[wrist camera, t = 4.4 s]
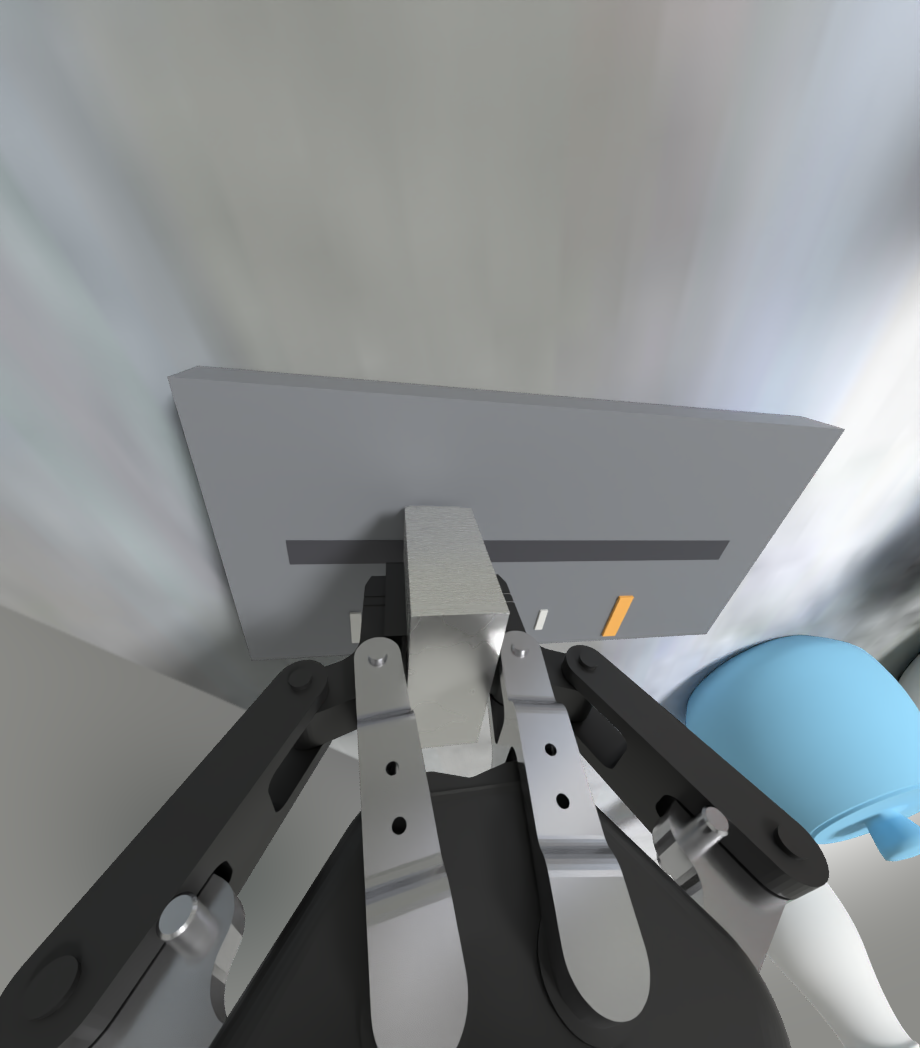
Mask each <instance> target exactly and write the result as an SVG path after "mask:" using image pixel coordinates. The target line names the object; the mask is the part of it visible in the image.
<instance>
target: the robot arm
mask: <svg viewBox="0 0 920 1048" xmlns="http://www.w3.org/2000/svg"><path fill="white" fill-rule="evenodd" d="M496 577H497V579H498V582H499V585H500V588H501V590H502V593H503V596H504V598H505V601H506V604H507V606H508V609H509V612H510V614H509V618H508V622H507V626H506V630H505V634H504V638H503V642H502V646H501V650H500V654H499V658H498V662H497V665H496V669H495V673H494V677H493V681H492V685H491V689H490V693H489V697H488V701H487V705H488V714H489V724H490V733H491V743H492V764H491V769H490V770H488V771H485V772H483V773H481V774H479V775H477V776H474V777H470V778H468V777H461V776H456V775H450V774H444V773H438V772H426V770H425V765H424V760H423V754H422V749H421V743H420V738H419V733H418V727H417V722H416V717H415V713H414V711H413V710H411V707H410V702H409V696H408V691H407V685H406V680H405V668H406V646H407V623H406V599H405V576H404V562H386V576H371V577H370V579H369V580H368V582H367V583H366V585H365V590H364V600H363V611H362V622H361V633H360V641H359V645H358V647H357V648H356V650H355V651H354V652H353V653H352V654H351V655H350V656H349V657H347V658H346V659H344V660H342V661H340V662H338V663H335V664H332V665H329V666H326V667H324V666H323V665H322V664H321V663H319V662H317V661H313V660H303V661H298V662H295V663H293V664H291V665H289V666H287V667H286V668H285V669H283V670H282V671H281V672H280V673H279V674H278V676H277V677H276V678H275V679H274V680H273V681H272V682H271V684H270V685H269V686H268V687H267V688H266V689H265V690H264V692H263V693H262V694H261V695H260V696H259V697H258V698H257V700H256V701H255V702H254V703H253V704H252V705H251V706H250V707H249V709H248V710H247V711H246V712H245V713H244V714H243V716H242V717H241V718H240V719H239V720H238V721H237V722H236V723H235V725H234V726H233V727H232V728H231V729H230V730H229V731H228V732H227V734H226V735H225V736H224V737H223V738H222V740H220V742H219V743H218V744H217V745H216V746H215V747H214V748H213V750H212V751H211V752H210V753H209V754H208V755H207V756H206V758H205V759H204V760H203V761H202V762H201V763H200V764H199V765H198V767H197V768H196V769H195V770H194V771H193V772H192V774H191V775H190V776H189V777H188V778H187V779H186V780H185V781H184V783H183V784H182V785H181V786H180V787H179V788H178V789H177V791H176V792H175V793H174V794H173V795H172V796H171V797H170V798H169V800H168V801H167V802H166V803H165V804H164V805H163V806H162V808H161V809H160V810H159V811H158V812H157V813H156V814H155V816H154V817H153V818H152V819H151V820H150V821H149V822H148V823H147V825H146V826H145V827H144V828H143V829H142V830H141V832H140V833H139V834H138V835H137V836H136V837H135V838H134V839H133V841H132V842H131V843H130V844H129V845H128V846H127V847H126V849H125V850H124V851H123V852H122V853H121V854H120V855H119V856H118V858H117V859H116V860H115V861H114V862H113V863H112V864H111V866H110V867H109V868H108V869H107V870H106V871H105V872H104V874H103V875H102V876H101V877H100V878H99V879H98V880H97V882H96V883H95V884H94V885H93V886H92V887H91V888H90V889H89V891H88V892H87V893H86V894H85V895H84V896H83V897H82V899H81V900H80V901H79V902H78V903H77V904H76V905H75V907H74V908H73V909H72V910H71V911H70V912H69V913H68V914H67V916H66V917H65V918H64V919H63V920H62V922H60V924H59V925H58V926H57V927H56V928H55V929H54V930H53V932H52V933H51V934H50V935H49V936H48V937H47V938H46V940H45V941H44V942H43V943H42V944H41V945H40V946H39V947H38V949H37V950H36V951H35V952H34V953H33V954H32V955H31V957H30V958H29V959H28V960H27V961H26V962H25V963H24V965H23V966H22V967H21V968H20V970H19V971H18V972H17V973H16V974H15V975H14V977H13V978H12V980H11V981H10V982H9V984H8V985H7V987H6V988H5V990H4V991H3V993H2V995H1V996H0V1048H791V1046H790V1042H789V1038H788V1035H787V1032H786V1029H785V1027H784V1024H783V1021H782V1018H781V1016H780V1013H779V1011H778V1009H777V1007H776V1004H775V1002H774V1000H773V998H772V996H771V994H770V992H769V990H768V988H767V986H766V984H765V982H764V981H763V979H762V977H761V976H760V974H759V973H760V970H761V967H762V964H763V962H764V959H765V957H766V954H767V952H768V949H769V946H770V944H771V941H772V939H773V936H774V933H775V931H776V928H777V926H778V923H779V920H780V918H781V915H782V912H783V910H784V907H785V905H786V904H787V903H789V902H791V901H793V900H795V899H797V898H799V897H801V896H803V895H805V894H807V893H809V892H811V891H813V890H815V889H817V888H819V887H821V886H823V885H825V884H826V882H827V881H828V878H829V870H828V865H827V862H826V859H825V857H824V855H823V853H822V851H821V849H820V848H819V846H818V844H817V843H816V842H815V840H814V839H813V838H812V836H811V835H810V834H809V833H808V832H807V831H806V830H805V829H804V828H803V827H802V826H801V825H800V824H799V823H798V822H797V821H796V820H794V819H793V818H792V817H791V816H790V815H789V814H787V813H786V812H785V811H784V810H783V809H782V808H780V807H779V806H778V805H777V804H776V803H775V802H773V801H772V800H771V799H770V798H769V797H768V796H766V795H765V794H764V793H763V792H762V791H761V790H759V789H758V788H757V787H756V786H755V785H754V784H752V783H751V782H750V781H749V780H748V779H747V778H745V777H744V776H743V775H742V774H741V773H739V772H738V771H737V770H736V769H735V768H734V767H732V766H731V765H730V764H729V763H728V762H727V761H725V760H724V759H723V758H722V757H721V756H720V755H718V754H717V753H716V752H715V751H714V750H713V749H711V748H710V747H709V746H708V745H707V744H706V743H704V742H703V741H702V740H701V739H700V738H699V737H697V736H696V735H695V734H694V733H693V732H692V731H690V730H689V729H688V728H687V727H686V726H685V725H683V724H682V723H681V722H680V721H679V720H678V719H676V718H675V717H674V716H673V715H672V714H671V713H669V712H668V711H667V710H666V709H665V708H664V707H662V706H661V705H660V704H659V703H658V702H657V701H655V700H654V699H653V698H652V697H651V696H650V695H648V694H647V693H646V692H645V691H644V690H643V689H641V688H640V687H639V686H638V685H637V684H635V683H634V682H633V681H632V680H631V679H630V678H628V677H627V676H626V675H625V674H624V673H623V672H621V671H620V670H619V669H618V668H617V667H616V666H614V665H613V664H612V663H611V662H610V661H609V660H607V659H606V658H605V657H604V656H603V655H602V654H600V653H599V652H598V651H596V650H595V649H593V648H591V647H588V646H584V645H576V646H573V647H571V648H570V649H569V650H568V651H567V653H561V652H557V651H553V650H548V649H545V648H543V647H541V646H540V645H539V643H538V642H537V641H536V639H535V638H533V637H532V636H531V635H529V634H527V633H526V631H525V628H524V626H523V623H522V621H521V618H520V616H519V613H518V611H517V608H516V606H515V603H514V602H513V598H512V595H510V590H509V588H508V585H507V583H506V582H505V581H504V580H503V579H502V578H501V577H500V576H499V575H498V574H496ZM356 729H357V734H358V754H359V774H360V795H361V811H360V813H359V814H358V815H357V816H356V817H355V819H354V820H353V821H352V823H351V824H350V825H349V827H348V828H347V830H346V832H345V833H344V835H343V836H342V838H341V839H340V841H339V843H338V844H337V846H336V848H335V849H334V851H333V852H332V854H331V855H330V857H329V859H328V860H327V862H326V863H325V865H324V866H323V868H322V869H321V871H320V873H319V874H318V876H317V877H316V879H315V880H314V882H313V884H312V885H311V887H310V888H309V890H308V891H307V893H306V895H305V896H304V898H303V899H302V901H301V903H300V904H299V906H298V907H297V909H296V910H295V912H294V913H293V915H292V917H291V918H290V920H289V921H288V923H287V924H286V926H285V928H284V929H283V931H282V932H281V934H280V935H279V937H278V939H277V940H276V942H275V943H274V945H273V947H272V948H271V950H270V951H269V953H268V954H267V956H266V958H265V959H264V961H263V962H262V964H261V965H260V967H259V969H258V970H257V972H256V973H255V975H254V976H253V978H252V980H251V981H250V983H249V984H248V986H247V987H246V989H245V991H244V992H243V994H242V996H241V997H240V998H239V1000H238V1002H237V1003H236V1005H235V1006H234V1008H233V1009H232V1011H231V1013H230V1014H229V1016H228V1017H227V1015H226V1011H225V1005H224V994H225V985H226V980H227V976H228V973H229V969H230V967H231V964H232V962H233V959H234V957H235V955H236V952H237V950H238V948H239V946H240V943H241V940H242V937H243V933H244V927H245V912H244V908H243V905H242V903H241V901H240V900H239V898H238V897H237V895H238V894H239V892H240V890H241V889H242V887H243V886H244V884H245V882H246V881H247V879H248V877H249V876H250V874H251V873H252V871H253V869H254V867H255V866H256V864H257V863H258V861H259V859H260V858H261V856H262V855H263V853H264V851H265V850H266V848H267V846H268V844H269V843H270V841H271V840H272V838H273V837H274V835H275V833H276V832H277V830H278V828H279V827H280V825H281V824H282V822H283V820H284V818H285V817H286V815H287V814H288V812H289V810H290V809H291V807H292V806H293V804H294V802H295V801H296V799H297V797H298V796H299V794H300V792H301V791H302V789H303V788H304V786H305V784H306V783H307V781H308V779H309V778H310V776H311V774H312V773H313V771H314V770H315V768H316V766H317V765H318V763H319V761H320V760H321V758H322V756H323V755H324V753H325V752H326V750H327V748H328V747H329V745H330V743H331V742H332V740H333V739H336V738H338V737H340V736H342V735H345V734H347V733H349V732H352V731H354V730H356ZM580 754H581V755H582V756H583V757H584V758H585V759H586V760H587V762H588V763H589V764H590V765H591V766H592V767H593V768H594V769H595V771H596V772H597V773H598V774H599V775H600V776H601V777H602V778H603V780H604V781H605V782H606V783H607V784H608V785H609V786H610V787H611V789H612V790H613V791H614V792H615V793H616V794H617V795H618V796H619V798H620V799H621V800H622V801H623V802H624V803H625V804H626V805H627V807H628V808H629V809H630V810H631V811H632V812H633V813H634V814H635V816H636V817H637V818H638V819H639V820H640V821H641V822H642V823H643V825H644V826H645V827H646V828H647V829H648V830H649V831H650V832H651V834H652V836H653V843H654V847H655V850H656V852H657V860H658V863H659V865H660V866H661V868H662V869H663V870H664V871H663V870H662V869H661V868H660V867H659V866H658V865H657V864H656V863H655V862H654V861H653V860H652V859H651V858H650V857H649V856H648V855H647V854H646V853H645V852H644V851H643V850H642V849H641V848H639V847H638V846H637V845H636V844H635V843H634V842H633V841H632V840H631V839H630V838H629V837H628V836H627V835H626V834H625V833H624V832H623V831H622V830H621V829H620V828H619V827H618V826H616V825H615V824H614V823H613V822H612V821H611V820H610V819H609V818H608V817H607V816H606V815H605V814H604V813H603V812H602V811H601V810H600V809H599V808H598V807H597V806H596V805H595V803H594V800H593V796H592V793H591V790H590V786H589V783H588V780H587V776H586V773H585V770H584V766H583V763H582V760H581V756H580ZM668 874H669V875H671V876H672V878H673V879H672V878H671V877H670V876H669V875H668Z"/></svg>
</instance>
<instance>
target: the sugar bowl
mask: <svg viewBox="0 0 920 1048" xmlns="http://www.w3.org/2000/svg"><path fill="white" fill-rule="evenodd" d="M686 727H687V728H688V729H689V730H690V731H692V732H693V733H694V734H695V735H696V736H697V737H699V738H700V739H701V740H702V741H703V742H704V743H706V744H707V745H708V746H709V747H710V748H711V749H713V750H714V751H715V752H716V753H717V754H718V755H720V756H721V757H722V758H723V759H724V760H725V761H727V762H728V763H729V764H730V765H731V766H732V767H734V768H735V769H736V770H737V771H738V772H739V773H741V774H742V775H743V776H744V777H745V778H747V779H748V780H749V781H750V782H751V783H752V784H754V785H755V786H756V787H757V788H758V789H759V790H761V791H762V792H763V793H764V794H765V795H766V796H768V797H769V798H770V799H771V800H772V801H773V802H775V803H776V804H777V805H778V806H779V807H780V808H782V809H783V810H784V811H785V812H786V813H787V814H789V815H790V816H791V817H792V818H793V819H794V820H796V821H797V822H798V823H799V824H800V825H801V826H802V827H803V828H804V829H805V830H806V831H807V832H808V833H809V834H810V835H811V836H812V838H813V839H814V840H815V842H816V843H817V844H828V843H835V842H840V841H844V840H848V839H851V838H855V837H858V836H861V835H864V834H867V833H870V834H871V836H872V838H873V840H874V842H875V844H876V846H877V848H878V849H879V851H880V853H881V854H882V856H883V857H884V859H885V860H888V861H899V860H903V859H907V858H911V857H914V856H917V855H919V854H920V827H919V826H918V825H917V824H915V823H914V822H912V821H911V820H909V819H908V817H910V816H912V815H914V814H916V813H918V812H920V712H919V710H918V708H917V706H916V705H915V703H914V702H913V701H912V699H911V698H910V696H909V695H908V694H907V692H906V691H905V690H904V688H903V687H902V686H901V685H900V684H899V683H898V682H897V680H896V679H895V678H894V677H893V676H892V675H891V674H890V673H889V672H888V671H887V670H886V669H885V668H884V667H883V666H882V665H881V664H880V663H879V662H878V661H877V660H876V659H875V658H873V657H872V656H871V655H870V654H868V653H867V652H866V651H865V650H863V649H861V648H859V647H857V646H855V645H852V644H850V643H848V642H843V641H839V640H834V639H829V638H823V637H815V636H807V635H795V636H787V637H782V638H778V639H774V640H771V641H767V642H764V643H762V644H759V645H757V646H754V647H752V648H750V649H748V650H745V651H744V652H742V653H740V654H738V655H736V656H734V657H733V658H731V659H729V660H728V661H726V662H725V663H723V664H722V665H720V666H719V667H717V668H716V669H715V670H714V671H712V672H711V673H710V674H709V675H708V676H707V677H706V678H704V679H703V680H702V681H701V683H700V684H699V685H698V686H697V687H696V688H695V690H694V691H693V692H692V694H691V696H690V698H689V700H688V704H687V712H686Z"/></svg>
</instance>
